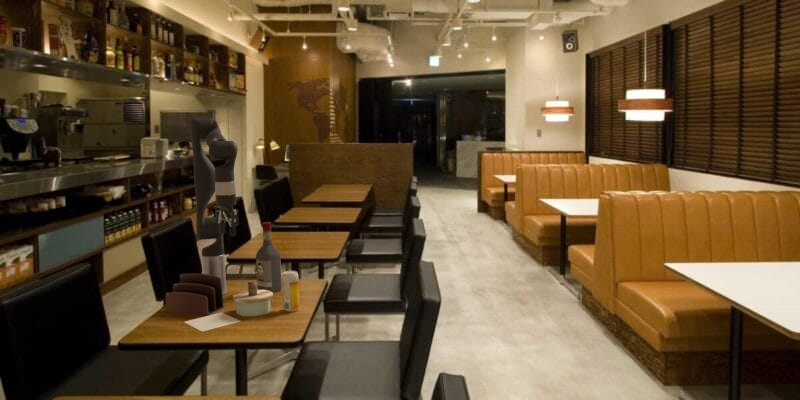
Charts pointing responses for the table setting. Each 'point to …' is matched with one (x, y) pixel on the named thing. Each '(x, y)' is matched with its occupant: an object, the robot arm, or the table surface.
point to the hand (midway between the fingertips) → (227, 234)
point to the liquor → (268, 263)
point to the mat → (212, 321)
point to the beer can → (291, 291)
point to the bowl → (253, 308)
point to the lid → (252, 294)
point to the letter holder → (196, 295)
